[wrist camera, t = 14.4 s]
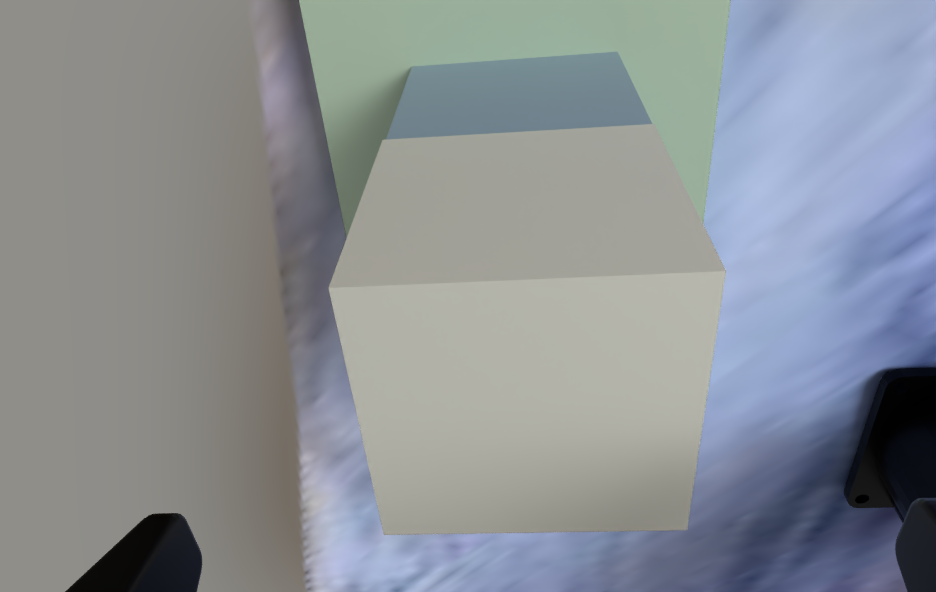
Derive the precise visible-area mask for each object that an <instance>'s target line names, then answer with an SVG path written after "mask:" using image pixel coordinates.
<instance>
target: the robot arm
mask: <svg viewBox="0 0 936 592" xmlns="http://www.w3.org/2000/svg"><path fill="white" fill-rule="evenodd" d="M898 383H901V384H899V385H897V384H898ZM895 385H896V386H895ZM844 495H845V497H846V499H847V501H848V503H849V505H850V506H852V507H855V508H882V507H894V508H895V510H896V512H897V514H898V516H899V517H900V519H901V521H902V523H903V524H902V527H901V529H900V532H899V534H898V537H897V539H896V545H895V551H896V558H897V562H898V565H899V568H900V571H901V574H902V577H903V580H904V583H905V586H906V589H907V592H936V368H906V369H895V370H892V371H889V372H887V373H886V374H885V375H884V376H883V377H882V378H881V380H880V383H879V386H878V389H877V392H876V395H875V398H874V401H873V404H872V407H871V410H870V413H869V416H868V419H867V422H866V425H865V428H864V431H863V434H862V438H861V441H860V444H859V447H858V450H857V453H856V456H855V459H854V462H853V465H852V468H851V471H850V474H849V477H848V480H847V483H846V486H845V489H844ZM201 569H202V555H201V551H200V548H199V546H198V544H197V542H196V540H195V538H194V536H193V533H192V531H191V529H190V527H189V525H188V523H187V521H186V519H185V518H184V517H183V516H182V515H181V514H178V513H167V514H165V513H163V514H152V515H149V516H148V517H146V518H144V519H143V520H142V521H141V522H140V523H139V524H138V525H137V526H136V527H134V528H133V529H132V530H131V531H130V532H129V533H128V534H127V535H126V536H125V537H124V538H123V539H121V540H120V541H119V542H118V543H117V544H116V545H115V546H114V547H113V548H112V549H111V550H110V551H108V552H107V553H106V554H105V555H104V556H103V557H102V558H101V559H100V560H99V561H98V562H97V563H96V564H95V565H93V566H92V567H91V568H90V569H89V570H88V571H87V572H86V573H85V574H84V575H83V576H82V577H81V578H79V580H77V581H76V582H75V583H74V584H73V585H72V586H71V587H70V588H69V589H68V590H67V591H65V592H197V588H198V584H199V579H200V575H201Z"/></svg>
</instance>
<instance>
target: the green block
mask: <svg viewBox="0 0 936 592" xmlns="http://www.w3.org/2000/svg"><path fill="white" fill-rule="evenodd" d="M730 1H731V0H299V3H300V8H301V13H302V18H303V23H304V28H305V33H306V38H307V43H308V48H309V53H310V58H311V63H312V68H313V73H314V78H315V83H316V88H317V93H318V98H319V103H320V108H321V113H322V118H323V123H324V128H325V133H326V138H327V143H328V148H329V153H330V158H331V163H332V168H333V173H334V178H335V183H336V188H337V193H338V198H339V203H340V208H341V213H342V218H343V223H344V228H345V233H346V238H347V236H348V233H349V230H350V228H351V225H352V222H353V219H354V217H355V214H356V211H357V208H358V206H359V203H360V200H361V198H362V195H363V192H364V189H365V187H366V184H367V181H368V178H369V176H370V173H371V170H372V167H373V165H374V162H375V159H376V157H377V154H378V151H379V148H380V146H381V143H382V140H386V138H387V135H388V133H389V130H390V127H391V124H392V121H393V118H394V116H395V113H396V110H397V107H398V104H399V102H400V99H401V96H402V93H403V90H404V88H405V85H406V82H407V79H408V76H409V73H410V71H411V68H412V67H413V66H427V65H441V64H454V63H468V62H482V61H496V60H509V59H523V58H537V57H550V56H564V55H578V54H592V53H605V52H618V53H619V55H620V58H621V60H622V62H623V64H624V66H625V68H626V70H627V72H628V74H629V76H630V78H631V80H632V83H633V85H634V87H635V89H636V91H637V93H638V95H639V97H640V99H641V101H642V103H643V105H644V108H645V110H646V112H647V114H648V116H649V118H650V120H651V122H652V124H655V126H656V128H657V130H658V132H659V135H660V137H661V139H662V141H663V143H664V145H665V147H666V149H667V151H668V153H669V155H670V157H671V159H672V161H673V163H674V165H675V167H676V169H677V172H678V174H679V176H680V178H681V180H682V182H683V184H684V186H685V188H686V190H687V192H688V194H689V196H690V198H691V200H692V202H693V204H694V206H695V209H696V211H697V213H698V215H699V217H700V219H701V221H702V223H703V222H704V213H705V205H706V197H707V189H708V181H709V173H710V164H711V156H712V148H713V140H714V132H715V124H716V116H717V107H718V99H719V91H720V83H721V75H722V67H723V58H724V50H725V42H726V34H727V26H728V18H729V10H730Z"/></svg>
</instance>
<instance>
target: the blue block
mask: <svg viewBox="0 0 936 592" xmlns="http://www.w3.org/2000/svg"><path fill="white" fill-rule="evenodd" d="M644 124H652V122H651V120H650V118H649V116H648V114H647V112H646V110H645V108H644V105H643V103H642V101H641V99H640V97H639V95H638V93H637V91H636V89H635V87H634V85H633V83H632V80H631V78H630V76H629V74H628V72H627V70H626V68H625V66H624V64H623V62H622V60H621V58H620V55H619V53H618V52H605V53H592V54H578V55H564V56H550V57H537V58H523V59H509V60H496V61H482V62H468V63H454V64H441V65H427V66H413V67H412V68H411V71H410V73H409V76H408V79H407V82H406V85H405V88H404V90H403V93H402V96H401V99H400V102H399V104H398V107H397V110H396V113H395V116H394V118H393V121H392V124H391V127H390V130H389V133H388V135H387V138H386V140H387V139H404V138H421V137H439V136H456V135H473V134H490V133H507V132H524V131H541V130H558V129H575V128H592V127H610V126H627V125H644Z"/></svg>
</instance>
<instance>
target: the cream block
mask: <svg viewBox="0 0 936 592" xmlns="http://www.w3.org/2000/svg"><path fill="white" fill-rule="evenodd" d="M725 274H726V270H725V268H724V266H723V264H722V262H721V260H720V258H719V256H718V254H717V252H716V250H715V248H714V246H713V243H712V241H711V239H710V237H709V235H708V233H707V231H706V229H705V227H704V225H703V223H702V221H701V219H700V217H699V215H698V213H697V211H696V209H695V206H694V204H693V202H692V200H691V198H690V196H689V194H688V192H687V190H686V188H685V186H684V184H683V182H682V180H681V178H680V176H679V174H678V172H677V169H676V167H675V165H674V163H673V161H672V159H671V157H670V155H669V153H668V151H667V149H666V147H665V145H664V143H663V141H662V139H661V137H660V135H659V132H658V130H657V128H656V126H655V124H644V125H627V126H610V127H592V128H575V129H558V130H541V131H524V132H507V133H490V134H473V135H456V136H439V137H421V138H404V139H387V140H382V143H381V146H380V148H379V151H378V154H377V157H376V159H375V162H374V165H373V167H372V170H371V173H370V176H369V178H368V181H367V184H366V187H365V189H364V192H363V195H362V198H361V200H360V203H359V206H358V208H357V211H356V214H355V217H354V219H353V222H352V225H351V228H350V230H349V233H348V236H347V239H346V241H345V244H344V247H343V249H342V252H341V255H340V258H339V260H338V263H337V266H336V269H335V271H334V274H333V277H332V280H331V282H330V285H329V293H330V297H331V302H332V306H333V311H334V315H335V320H336V324H337V328H338V333H339V337H340V342H341V346H342V351H343V355H344V359H345V364H346V368H347V373H348V377H349V382H350V386H351V391H352V395H353V399H354V404H355V408H356V413H357V417H358V422H359V426H360V431H361V435H362V439H363V444H364V448H365V453H366V457H367V462H368V466H369V470H370V475H371V479H372V484H373V488H374V493H375V497H376V502H377V506H378V510H379V515H380V519H381V524H382V528H383V533H384V535H410V534H475V533H541V532H607V531H673V530H687V527H688V520H689V513H690V507H691V500H692V493H693V487H694V480H695V473H696V467H697V460H698V453H699V447H700V440H701V434H702V427H703V420H704V414H705V407H706V400H707V394H708V387H709V380H710V374H711V367H712V360H713V354H714V347H715V341H716V334H717V327H718V321H719V314H720V307H721V301H722V294H723V287H724V281H725Z"/></svg>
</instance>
